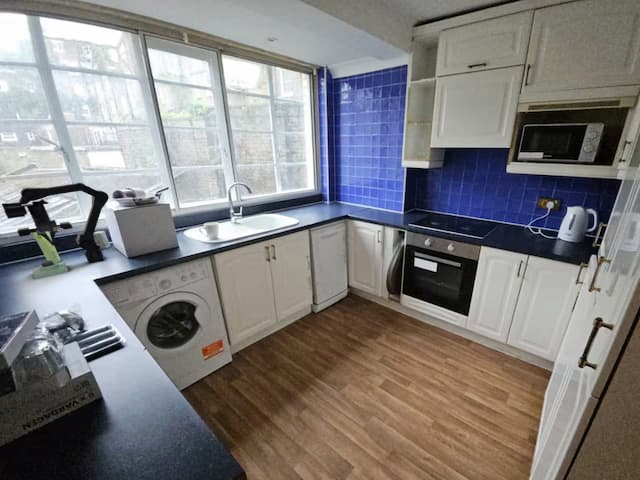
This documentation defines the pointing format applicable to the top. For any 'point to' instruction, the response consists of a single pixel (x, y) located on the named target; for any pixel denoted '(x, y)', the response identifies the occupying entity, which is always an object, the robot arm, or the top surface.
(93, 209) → the robot arm
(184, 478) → the top surface
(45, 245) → the tube
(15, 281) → the top surface
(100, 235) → the cosmetics bottle
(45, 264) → the pump head
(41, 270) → the dispenser
